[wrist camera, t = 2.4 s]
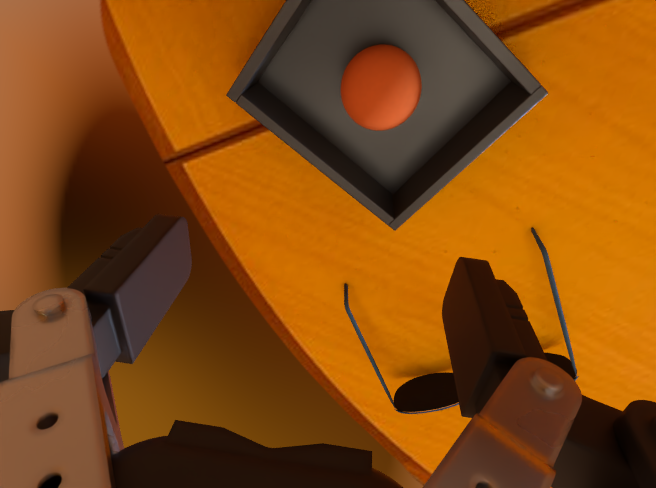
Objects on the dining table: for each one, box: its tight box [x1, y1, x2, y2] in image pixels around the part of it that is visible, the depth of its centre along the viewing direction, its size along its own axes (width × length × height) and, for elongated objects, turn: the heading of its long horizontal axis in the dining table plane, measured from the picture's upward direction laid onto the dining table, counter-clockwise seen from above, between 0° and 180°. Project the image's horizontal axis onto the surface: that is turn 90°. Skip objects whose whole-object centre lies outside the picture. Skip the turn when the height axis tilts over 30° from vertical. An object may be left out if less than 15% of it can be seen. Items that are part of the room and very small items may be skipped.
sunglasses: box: [344, 228, 579, 414], centre depth 37 cm, size 17×15×5 cm
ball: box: [341, 44, 422, 131], centre depth 25 cm, size 5×5×5 cm
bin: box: [226, 0, 548, 230], centre depth 25 cm, size 14×12×5 cm
